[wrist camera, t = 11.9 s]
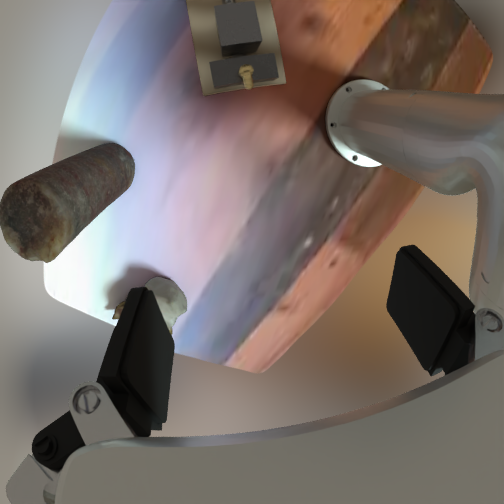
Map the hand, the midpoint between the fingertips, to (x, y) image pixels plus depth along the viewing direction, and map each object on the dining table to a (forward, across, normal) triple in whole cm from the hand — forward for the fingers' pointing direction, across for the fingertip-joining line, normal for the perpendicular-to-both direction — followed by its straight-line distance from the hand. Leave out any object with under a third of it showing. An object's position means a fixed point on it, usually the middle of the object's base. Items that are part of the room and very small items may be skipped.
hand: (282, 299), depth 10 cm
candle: (+28, +17, -2) cm, 33 cm away
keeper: (+26, -2, -10) cm, 28 cm away
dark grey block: (+26, -1, -18) cm, 32 cm away
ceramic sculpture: (+28, +17, +21) cm, 39 cm away
